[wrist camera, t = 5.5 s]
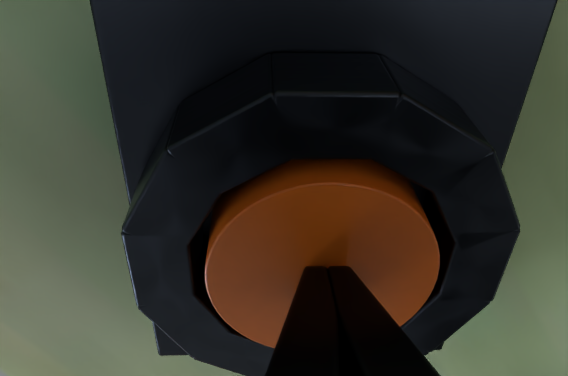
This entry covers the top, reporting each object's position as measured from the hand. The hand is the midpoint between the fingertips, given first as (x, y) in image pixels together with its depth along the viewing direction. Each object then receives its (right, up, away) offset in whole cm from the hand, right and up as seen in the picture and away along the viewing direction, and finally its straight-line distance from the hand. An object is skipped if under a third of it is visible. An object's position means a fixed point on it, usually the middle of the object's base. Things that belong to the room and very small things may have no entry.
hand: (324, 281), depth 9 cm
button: (0, +1, +1) cm, 2 cm away
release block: (0, +2, +3) cm, 3 cm away
